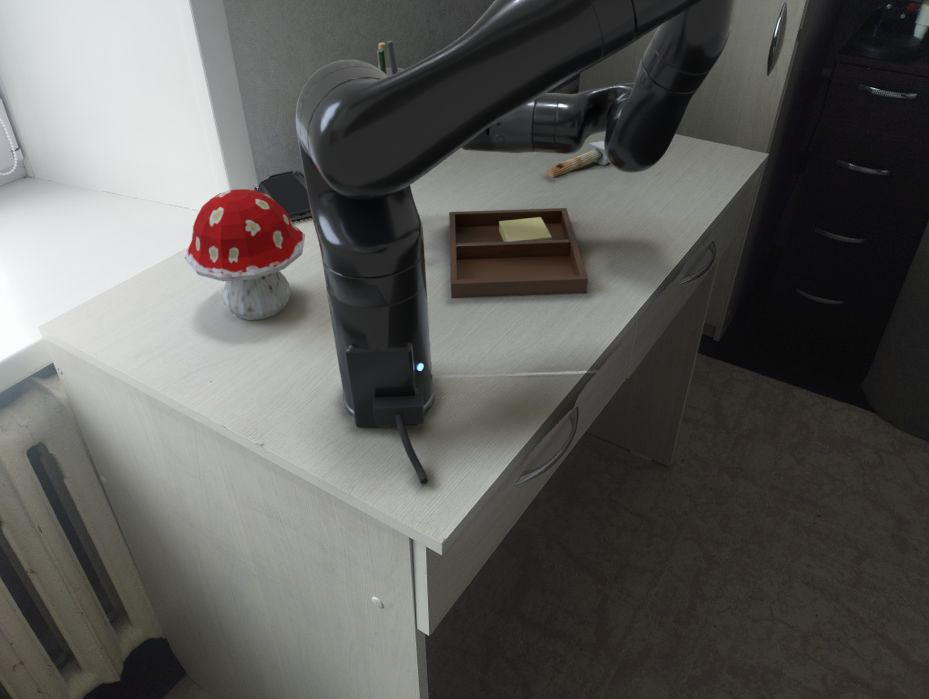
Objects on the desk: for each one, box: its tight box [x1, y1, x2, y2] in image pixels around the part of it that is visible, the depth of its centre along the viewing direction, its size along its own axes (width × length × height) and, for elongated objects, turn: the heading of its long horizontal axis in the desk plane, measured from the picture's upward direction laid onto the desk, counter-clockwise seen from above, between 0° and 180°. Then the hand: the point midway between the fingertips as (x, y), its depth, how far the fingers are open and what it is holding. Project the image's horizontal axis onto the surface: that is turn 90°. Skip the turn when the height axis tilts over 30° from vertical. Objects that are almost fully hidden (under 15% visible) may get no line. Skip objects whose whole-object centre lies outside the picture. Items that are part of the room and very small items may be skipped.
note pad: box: [499, 217, 552, 242], centre depth 103 cm, size 6×6×2 cm
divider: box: [456, 239, 570, 259], centre depth 99 cm, size 1×15×2 cm, turn 91°
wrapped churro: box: [546, 140, 610, 178], centre depth 124 cm, size 4×3×20 cm
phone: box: [253, 170, 312, 222], centre depth 116 cm, size 8×1×15 cm
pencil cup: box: [376, 40, 404, 76], centre depth 95 cm, size 6×6×16 cm
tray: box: [448, 207, 588, 299], centre depth 99 cm, size 19×17×2 cm
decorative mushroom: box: [184, 188, 306, 321], centre depth 88 cm, size 14×14×15 cm
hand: (371, 113), depth 96 cm, fingers closed on pencil cup, 6 cm apart
